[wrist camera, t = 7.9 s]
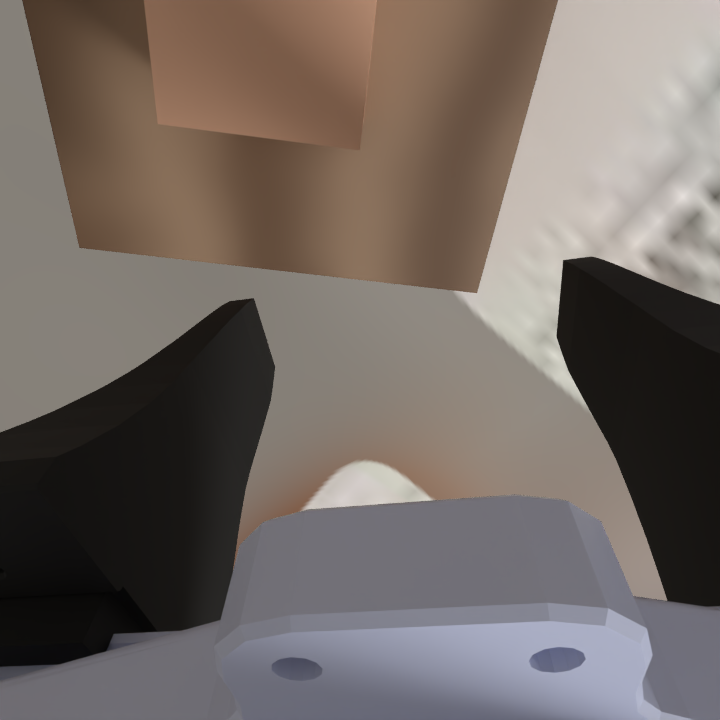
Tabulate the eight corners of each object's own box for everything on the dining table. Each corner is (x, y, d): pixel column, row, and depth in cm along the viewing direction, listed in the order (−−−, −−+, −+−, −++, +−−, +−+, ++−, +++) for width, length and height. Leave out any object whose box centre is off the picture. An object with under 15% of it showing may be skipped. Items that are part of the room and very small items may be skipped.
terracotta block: (386, -92, 13) (389, -124, 10) (363, 120, 16) (359, 150, 12) (190, -121, 13) (125, -164, 9) (204, 98, 16) (157, 123, 12)
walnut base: (608, -287, 12) (653, -344, 10) (467, 265, 21) (476, 292, 19) (-6, -385, 12) (-86, -466, 10) (109, 223, 21) (79, 247, 19)
